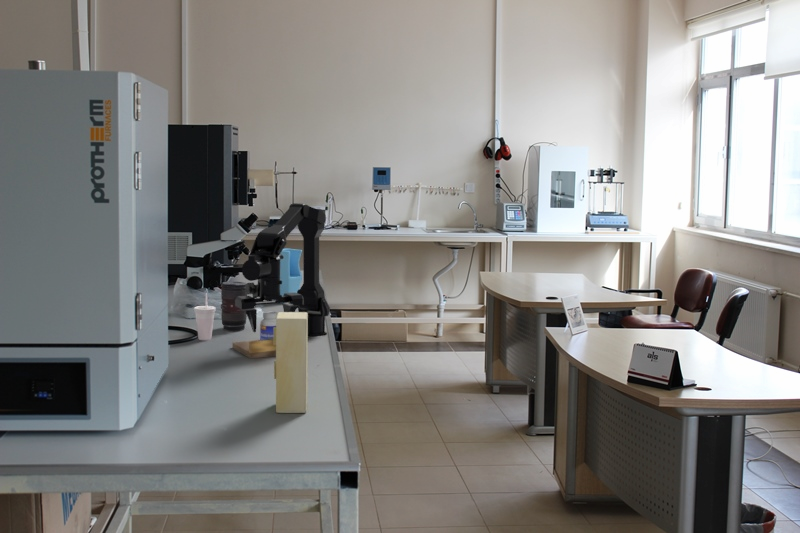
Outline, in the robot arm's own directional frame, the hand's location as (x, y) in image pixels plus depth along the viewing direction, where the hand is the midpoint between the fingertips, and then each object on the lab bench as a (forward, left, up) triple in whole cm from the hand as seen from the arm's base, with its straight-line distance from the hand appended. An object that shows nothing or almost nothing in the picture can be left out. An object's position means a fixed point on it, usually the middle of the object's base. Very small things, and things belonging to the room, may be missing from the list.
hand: (269, 330), depth 226 cm
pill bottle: (0, 0, -5) cm, 5 cm away
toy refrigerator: (+16, +49, -6) cm, 52 cm away
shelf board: (0, -3, -6) cm, 7 cm away
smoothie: (+11, -24, -6) cm, 27 cm away
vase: (-38, -73, -6) cm, 82 cm away
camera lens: (-2, -34, -6) cm, 34 cm away
